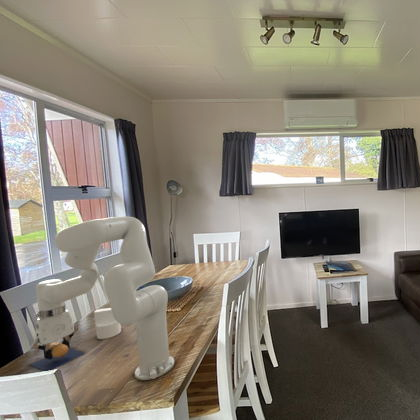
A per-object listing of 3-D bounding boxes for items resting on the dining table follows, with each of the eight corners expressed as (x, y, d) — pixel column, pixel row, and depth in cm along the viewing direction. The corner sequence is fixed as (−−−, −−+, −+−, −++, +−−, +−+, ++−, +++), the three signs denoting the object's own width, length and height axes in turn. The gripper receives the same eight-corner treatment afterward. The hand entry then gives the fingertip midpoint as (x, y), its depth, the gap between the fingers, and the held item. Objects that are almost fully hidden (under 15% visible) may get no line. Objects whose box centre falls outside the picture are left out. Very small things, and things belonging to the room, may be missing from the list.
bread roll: (71, 354, 109) (70, 343, 108) (56, 361, 104) (55, 350, 104) (58, 348, 112) (57, 338, 112) (43, 355, 108) (42, 344, 107)
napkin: (84, 353, 112) (84, 353, 112) (46, 372, 101) (46, 371, 101) (68, 347, 116) (68, 347, 116) (30, 365, 105) (29, 364, 105)
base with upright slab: (123, 327, 133) (121, 303, 132) (117, 336, 124) (114, 311, 123) (101, 331, 129) (99, 307, 128) (93, 340, 121) (90, 315, 120)
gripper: (27, 323, 97) (33, 370, 99) (83, 303, 113) (88, 344, 115) (17, 319, 100) (23, 365, 102) (73, 301, 116) (77, 341, 117)
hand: (57, 354), depth 108 cm, fingers closed on bread roll, 4 cm apart
